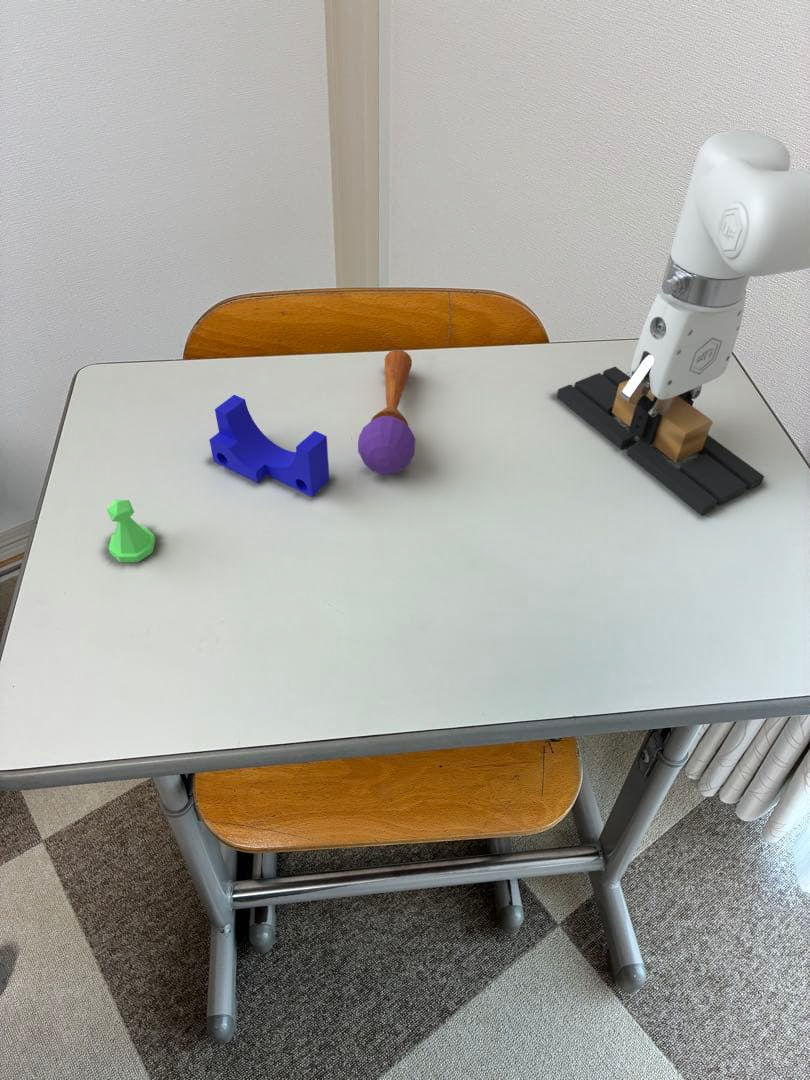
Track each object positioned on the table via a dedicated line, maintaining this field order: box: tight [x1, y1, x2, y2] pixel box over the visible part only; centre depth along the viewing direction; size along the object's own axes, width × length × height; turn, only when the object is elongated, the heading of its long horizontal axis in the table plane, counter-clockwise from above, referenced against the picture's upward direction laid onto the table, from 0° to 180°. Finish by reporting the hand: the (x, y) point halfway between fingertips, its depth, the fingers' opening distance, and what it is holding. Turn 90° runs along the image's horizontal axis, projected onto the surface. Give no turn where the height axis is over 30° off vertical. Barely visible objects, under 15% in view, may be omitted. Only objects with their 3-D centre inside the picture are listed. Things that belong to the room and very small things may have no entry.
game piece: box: [106, 499, 157, 563], centre depth 74 cm, size 4×4×6 cm
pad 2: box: [626, 434, 765, 516], centre depth 85 cm, size 11×9×1 cm
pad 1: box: [556, 366, 636, 450], centre depth 92 cm, size 11×9×1 cm
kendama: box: [357, 349, 416, 475], centre depth 88 cm, size 6×6×20 cm
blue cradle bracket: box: [208, 394, 330, 498], centre depth 82 cm, size 12×4×6 cm, turn 58°
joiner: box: [612, 380, 714, 463], centre depth 87 cm, size 10×4×4 cm, turn 33°
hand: (656, 429), depth 88 cm, fingers closed on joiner, 4 cm apart
